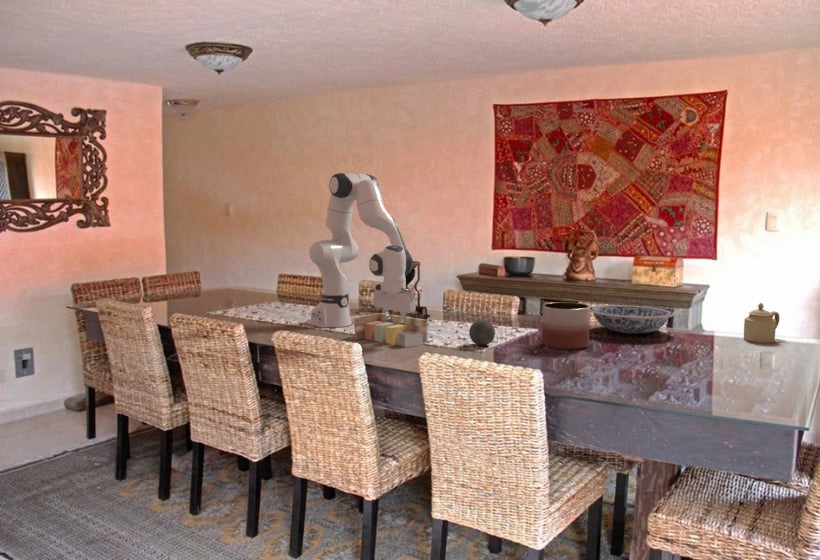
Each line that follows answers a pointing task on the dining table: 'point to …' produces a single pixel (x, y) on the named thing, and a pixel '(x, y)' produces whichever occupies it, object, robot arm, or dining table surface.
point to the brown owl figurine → (415, 313)
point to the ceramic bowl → (631, 318)
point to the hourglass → (411, 277)
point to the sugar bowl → (761, 325)
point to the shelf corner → (410, 323)
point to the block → (410, 338)
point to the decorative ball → (482, 332)
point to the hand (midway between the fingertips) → (394, 321)
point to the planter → (565, 325)
